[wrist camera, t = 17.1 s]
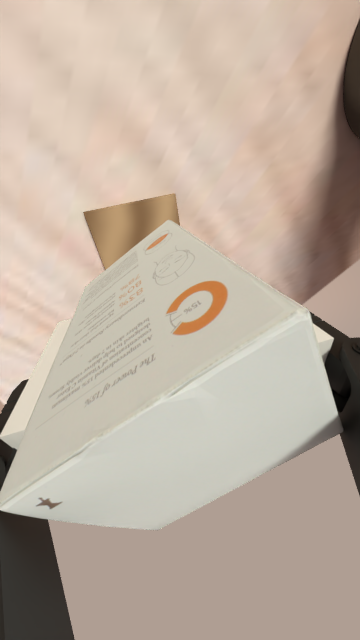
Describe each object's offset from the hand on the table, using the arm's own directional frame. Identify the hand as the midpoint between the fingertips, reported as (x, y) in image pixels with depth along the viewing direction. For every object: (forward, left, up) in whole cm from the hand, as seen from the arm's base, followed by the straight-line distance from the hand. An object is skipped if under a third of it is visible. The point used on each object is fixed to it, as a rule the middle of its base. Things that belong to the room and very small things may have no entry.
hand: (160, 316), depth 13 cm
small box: (0, 0, -5) cm, 5 cm away
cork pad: (0, 0, -18) cm, 18 cm away
